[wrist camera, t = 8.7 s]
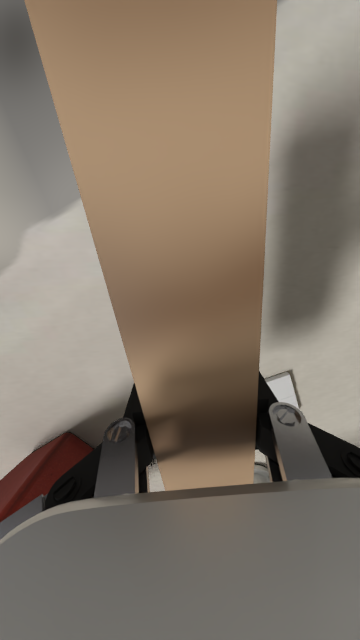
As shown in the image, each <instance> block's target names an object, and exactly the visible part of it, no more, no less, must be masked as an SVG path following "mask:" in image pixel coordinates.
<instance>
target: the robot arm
mask: <svg viewBox="0 0 360 640" xmlns="http://www.w3.org/2000/svg"><path fill="white" fill-rule="evenodd" d="M256 449H259V451H260V452H261V453H263V454H264V455H265V457H266V462H267V467H268V468H266V467H263V466H260V465H254V480H253V484H243V485H231V486H218V487H206V488H194V489H183V490H171V491H160V492H150V488H149V473H148V465H149V464H150V463H151V462H152V460H153V459H156V456H155V452H154V449H153V445H152V442H151V439H150V435H149V432H148V428H147V425H146V421H145V418H144V414H143V411H142V407H141V404H140V400H139V397H138V393H137V390H136V386H135V383H134V385H133V388H132V391H131V395H130V398H129V401H128V404H127V407H126V410H125V414H124V417H123V418H120V419H118V420H116V421H114V422H113V423H111V424H110V425H109V427H108V428H107V429H106V431H105V434H104V437H103V442H102V443H101V444H100V445H99V446H98V447H96V448H95V449H94V450H93V451H91V452H90V453H89V454H88V455H87V456H85V457H84V458H83V459H82V460H80V461H79V462H78V463H77V464H75V465H74V466H73V467H72V468H71V469H69V470H68V471H67V472H66V473H64V474H63V475H62V476H61V477H60V478H59V479H58V480H57V481H56V482H55V483H54V484H53V486H52V487H51V488H50V490H49V492H48V494H46V495H45V496H43V494H41V495H40V496H38V497H37V498H35V499H34V500H32V501H31V502H29V503H28V504H27V505H25V506H24V507H22V508H21V509H19V510H18V511H16V512H15V513H13V514H12V515H10V516H9V517H7V518H6V519H5V520H3V521H2V522H0V640H360V448H358V447H356V446H354V445H352V444H350V443H348V442H346V441H344V440H342V439H340V438H338V437H336V436H334V435H332V434H330V433H328V432H325V431H323V430H321V429H319V428H317V427H315V426H313V425H311V424H309V423H307V421H306V418H305V416H304V415H303V413H302V412H301V411H300V410H299V409H298V408H296V407H295V406H293V405H291V404H289V403H285V402H279V401H278V400H277V398H276V397H275V395H274V393H273V392H272V390H271V389H270V387H269V386H268V384H267V383H266V381H265V379H264V378H263V376H262V375H261V373H260V372H259V378H258V399H257V419H256V440H255V450H256Z"/></svg>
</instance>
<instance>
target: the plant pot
mask: <svg viewBox="0 0 360 640" xmlns="http://www.w3.org/2000/svg"><path fill="white" fill-rule="evenodd" d="M93 450H94V449H93V448H91V447H90V446H89V445H87V444H86V443H85V442H83V441H82V440H80V439H79V438H78V437H76V436H75V435H73V434H72V433H64V434H62V435H61V436H59V437H58V438H56V439H54V440H53V441H51V442H49V443H48V444H46V445H44V446H43V447H41V448H39V449H38V450H36V451H34V452H33V453H31V454H30V455H28V456H27V457H26V458H25V459H24V460H23V461H21V462H20V463H19V464H18V465H17V466H16V467H15V468H14V469H12V470H11V471H10V472H9V473H8V474H7V475H6V476H5V477H4V478H3V479H2V480H0V522H2V521H3V520H5V519H6V518H7V517H9V516H10V515H12V514H13V513H15V512H16V511H18V510H19V509H21V508H22V507H24V506H25V505H27V504H28V503H29V502H31V501H32V500H34V499H35V498H37V497H38V496H40V495H41V494H43V496H45V495H46V494H48V492H49V490H50V488H51V487H52V486H53V484H54V483H55V482H56V481H57V480H58V479H59V478H60V477H61V476H62V475H63V474H64V473H66V472H67V471H68V470H69V469H71V468H72V467H73V466H74V465H75V464H77V463H78V462H79V461H80V460H82V459H83V458H84V457H85V456H87V455H88V454H89V453H90V452H91V451H93Z"/></svg>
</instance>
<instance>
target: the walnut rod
mask: <svg viewBox="0 0 360 640" xmlns="http://www.w3.org/2000/svg"><path fill="white" fill-rule="evenodd" d="M25 4H26V7H27V11H28V14H29V17H30V21H31V25H32V28H33V32H34V35H35V39H36V42H37V46H38V49H39V53H40V56H41V59H42V63H43V66H44V70H45V73H46V77H47V80H48V84H49V87H50V91H51V94H52V97H53V101H54V105H55V108H56V112H57V115H58V119H59V122H60V125H61V129H62V132H63V136H64V139H65V143H66V146H67V150H68V153H69V157H70V160H71V164H72V167H73V171H74V174H75V178H76V181H77V185H78V188H79V192H80V195H81V199H82V202H83V206H84V209H85V212H86V216H87V219H88V223H89V226H90V230H91V233H92V237H93V240H94V244H95V247H96V251H97V254H98V258H99V261H100V265H101V268H102V272H103V275H104V279H105V282H106V285H107V289H108V292H109V296H110V299H111V303H112V306H113V310H114V313H115V317H116V320H117V324H118V327H119V331H120V334H121V338H122V341H123V345H124V348H125V352H126V355H127V359H128V362H129V365H130V369H131V372H132V376H133V379H134V383H135V386H136V390H137V393H138V397H139V400H140V404H141V407H142V411H143V414H144V418H145V421H146V425H147V428H148V432H149V435H150V439H151V442H152V445H153V449H154V452H155V456H156V459H157V463H158V466H159V470H160V473H161V477H162V480H163V484H164V487H165V491H171V490H183V489H194V488H206V487H218V486H231V485H243V484H253V480H254V460H255V440H256V419H257V399H258V378H259V358H260V338H261V317H262V297H263V276H264V256H265V236H266V215H267V195H268V174H269V154H270V134H271V113H272V93H273V73H274V52H275V32H276V11H277V0H25Z"/></svg>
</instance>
